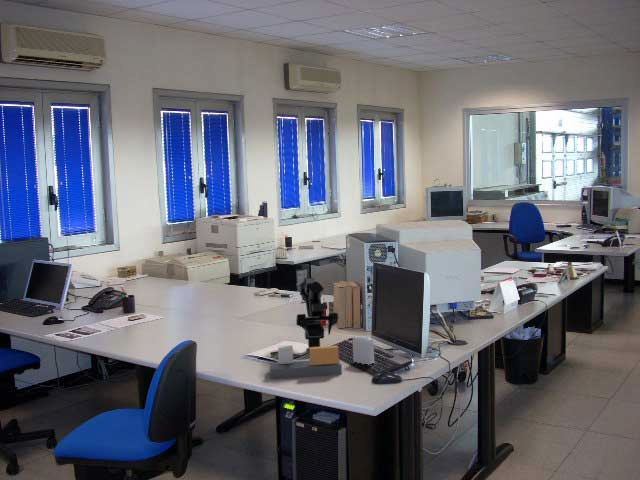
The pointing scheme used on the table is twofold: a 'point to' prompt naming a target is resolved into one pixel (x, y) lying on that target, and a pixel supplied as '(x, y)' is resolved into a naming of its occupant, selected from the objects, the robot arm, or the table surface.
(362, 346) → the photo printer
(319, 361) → the orange slider
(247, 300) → the table surface
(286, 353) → the white slider
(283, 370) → the switch box
